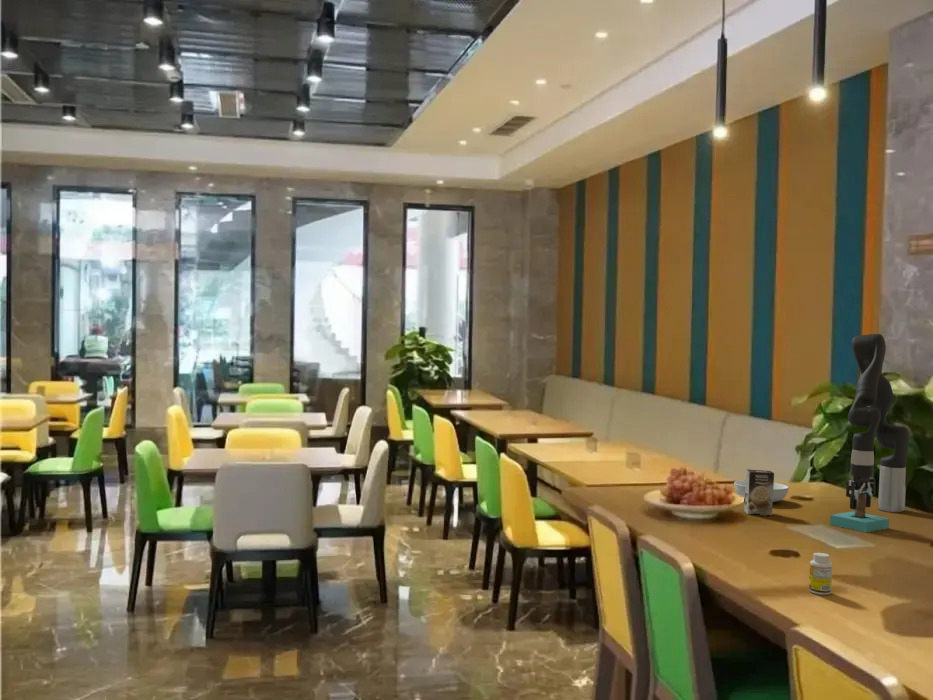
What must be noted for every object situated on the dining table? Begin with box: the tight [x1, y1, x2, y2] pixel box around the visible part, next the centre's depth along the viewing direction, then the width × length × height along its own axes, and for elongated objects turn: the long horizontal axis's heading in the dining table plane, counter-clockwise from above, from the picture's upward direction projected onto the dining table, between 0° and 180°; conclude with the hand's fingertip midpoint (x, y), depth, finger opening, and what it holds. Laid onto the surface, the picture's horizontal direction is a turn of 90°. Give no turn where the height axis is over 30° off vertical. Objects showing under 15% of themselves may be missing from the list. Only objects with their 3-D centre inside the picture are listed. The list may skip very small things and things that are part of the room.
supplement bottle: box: [808, 552, 833, 596], centre depth 250 cm, size 6×6×10 cm
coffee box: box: [743, 468, 775, 516], centre depth 354 cm, size 9×6×16 cm
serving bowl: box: [733, 479, 789, 503], centre depth 379 cm, size 21×21×7 cm
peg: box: [854, 492, 867, 519], centre depth 336 cm, size 4×4×12 cm
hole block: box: [829, 510, 890, 533], centre depth 336 cm, size 14×14×4 cm
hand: (860, 508), depth 336 cm, fingers open, 8 cm apart
